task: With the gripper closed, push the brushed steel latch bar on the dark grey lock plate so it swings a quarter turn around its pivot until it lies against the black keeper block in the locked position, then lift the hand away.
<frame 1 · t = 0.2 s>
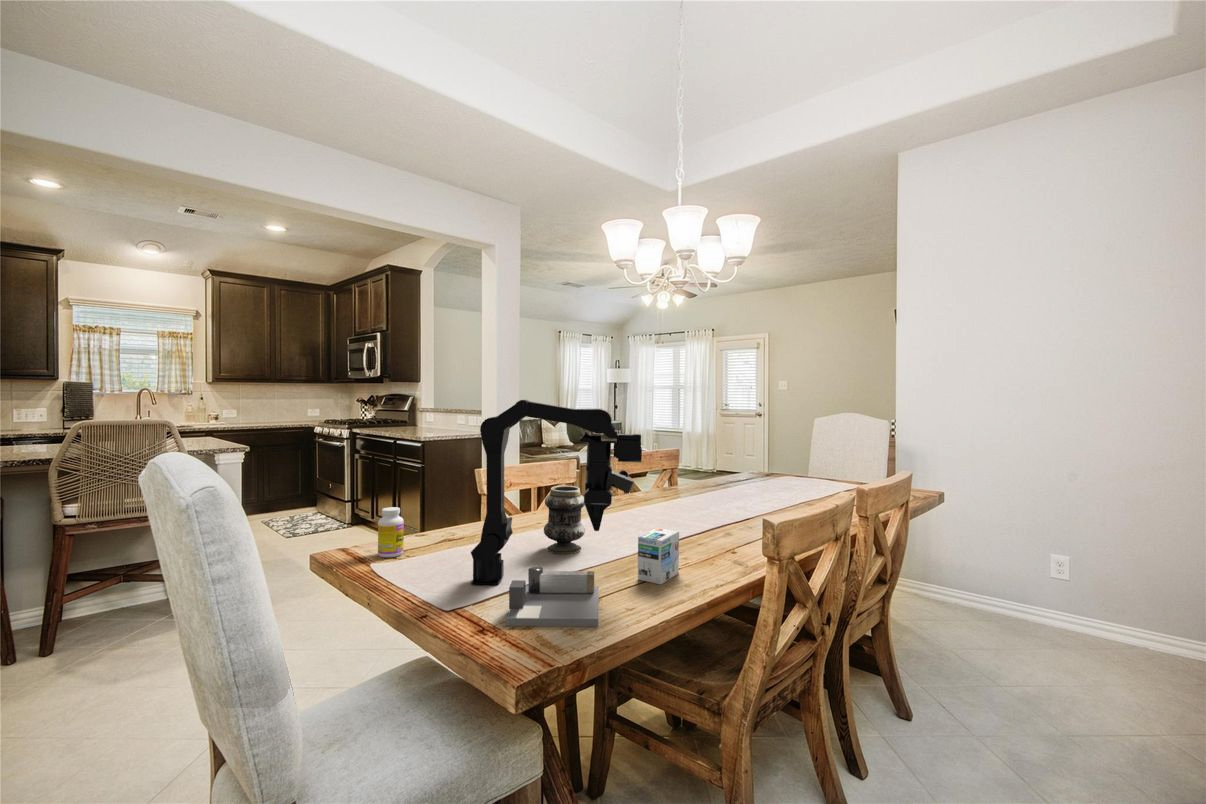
hand: (596, 525, 130), 14 cm above the table, tool pointing down, fingers open, 9 cm apart
latch bar: (561, 579, 120), point 4 cm above the table, hinge at 0.0°
lock plate: (556, 607, 115), on the table
apothecary jar: (564, 550, 157), on the table
supplement bottle: (390, 555, 151), on the table
light bulb box: (658, 577, 136), on the table
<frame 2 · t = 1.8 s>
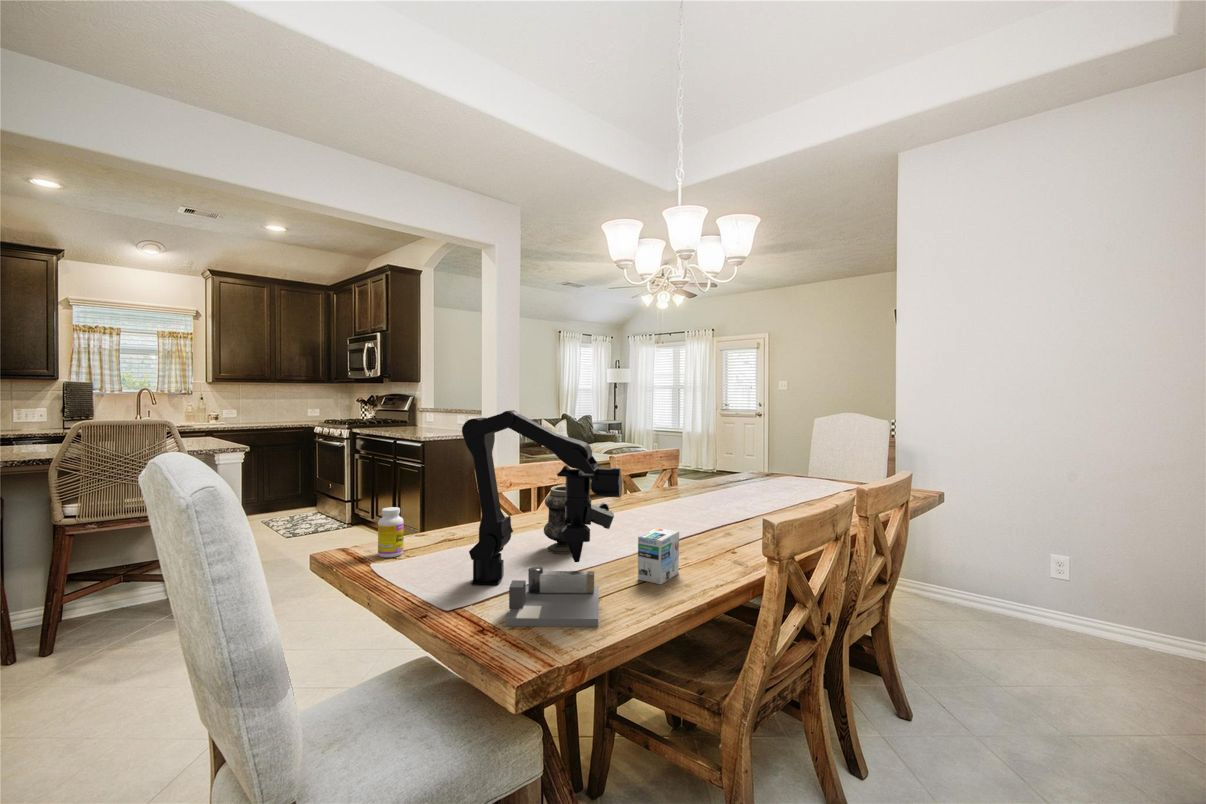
hand: (577, 561, 127), 6 cm above the table, tool pointing down, fingers closed
nothing on the table moved.
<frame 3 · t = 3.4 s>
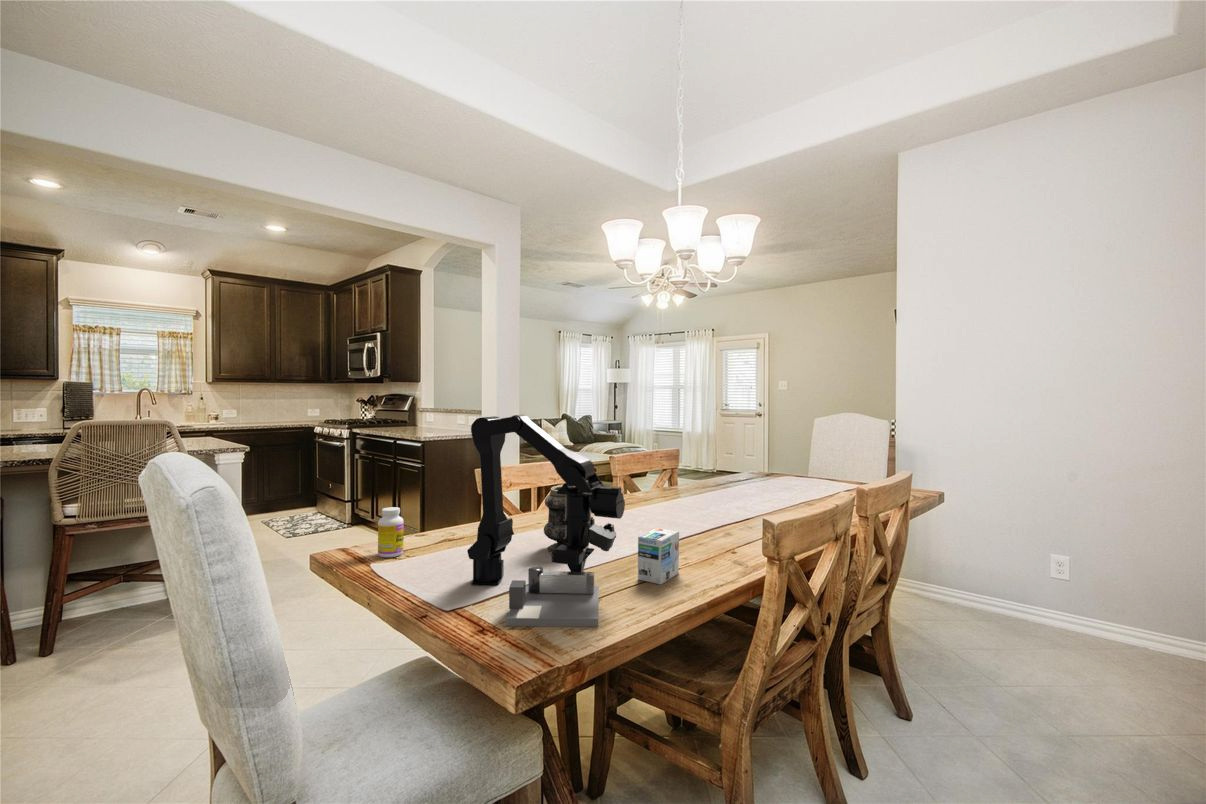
hand: (578, 582, 123), 3 cm above the table, tool pointing down, fingers closed
latch bar: (561, 580, 120), point 4 cm above the table, hinge at -2.3°, touching gripper
everything else where it was.
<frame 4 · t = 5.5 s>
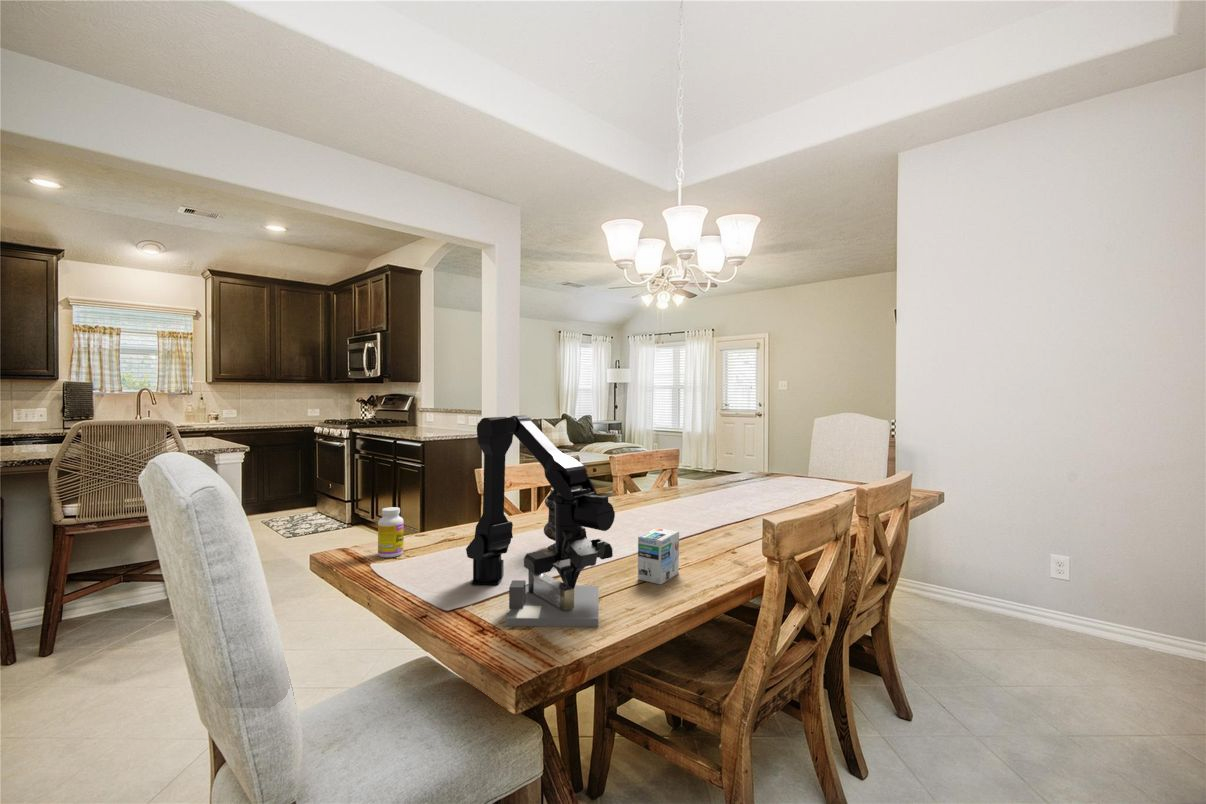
hand: (569, 595, 115), 3 cm above the table, tool pointing down, fingers closed
latch bar: (549, 587, 116), point 4 cm above the table, hinge at -51.8°, touching gripper
everything else where it was.
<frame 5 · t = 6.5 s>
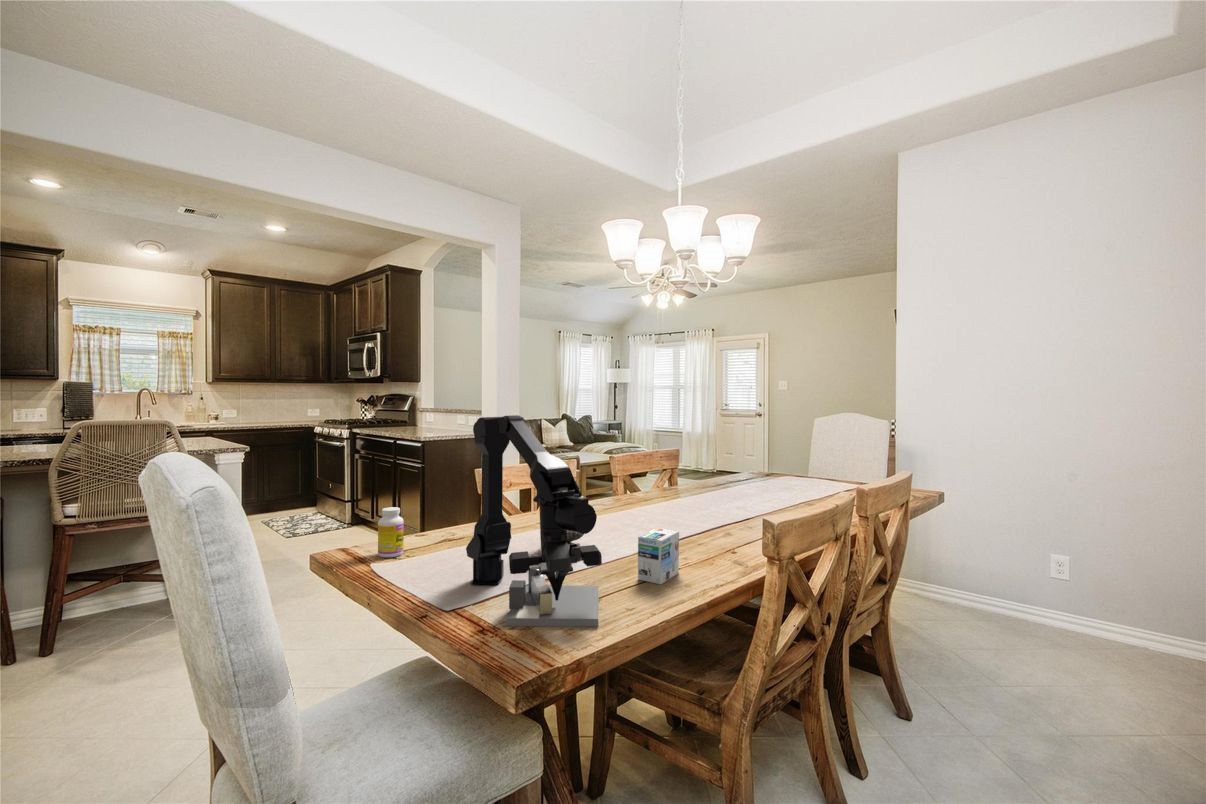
hand: (556, 599, 113), 3 cm above the table, tool pointing down, fingers closed
latch bar: (540, 588, 115), point 4 cm above the table, hinge at -74.1°, touching gripper
everything else where it was.
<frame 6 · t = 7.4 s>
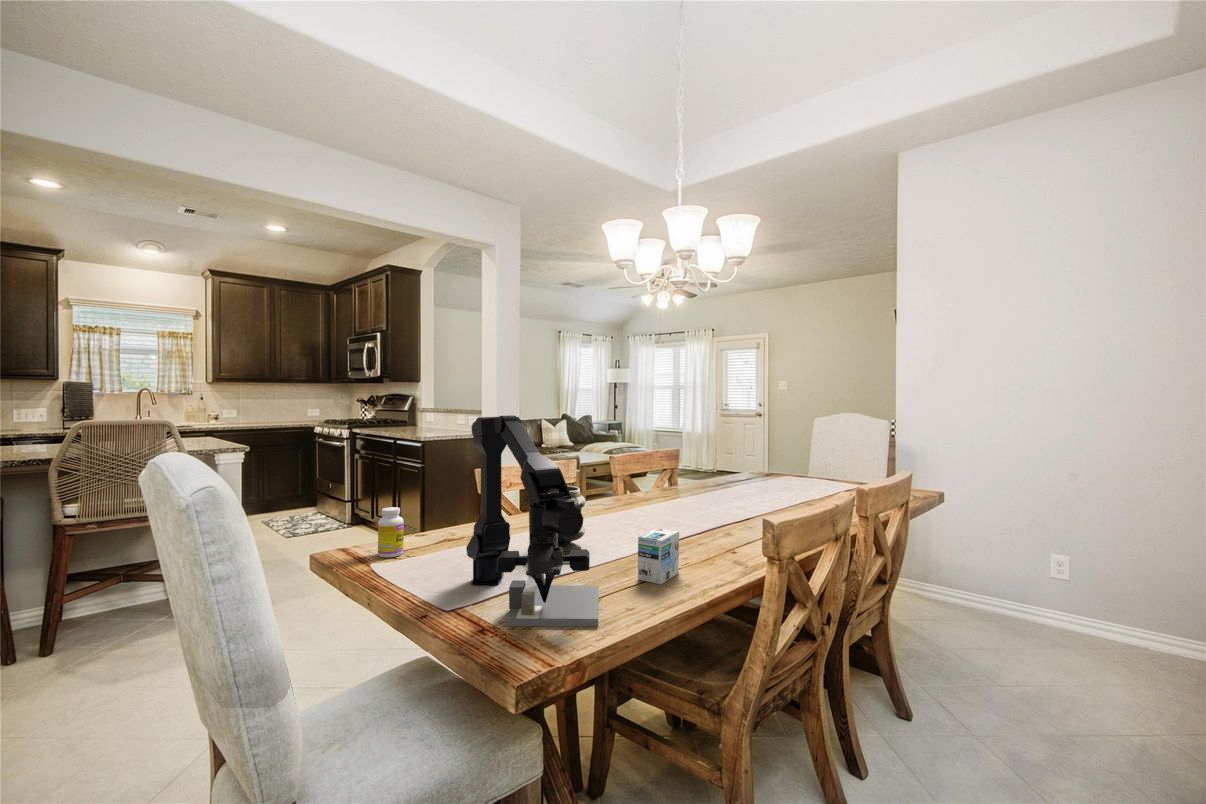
hand: (544, 601, 112), 3 cm above the table, tool pointing down, fingers closed
latch bar: (532, 589, 115), point 4 cm above the table, hinge at -90.3°, touching gripper
everything else where it was.
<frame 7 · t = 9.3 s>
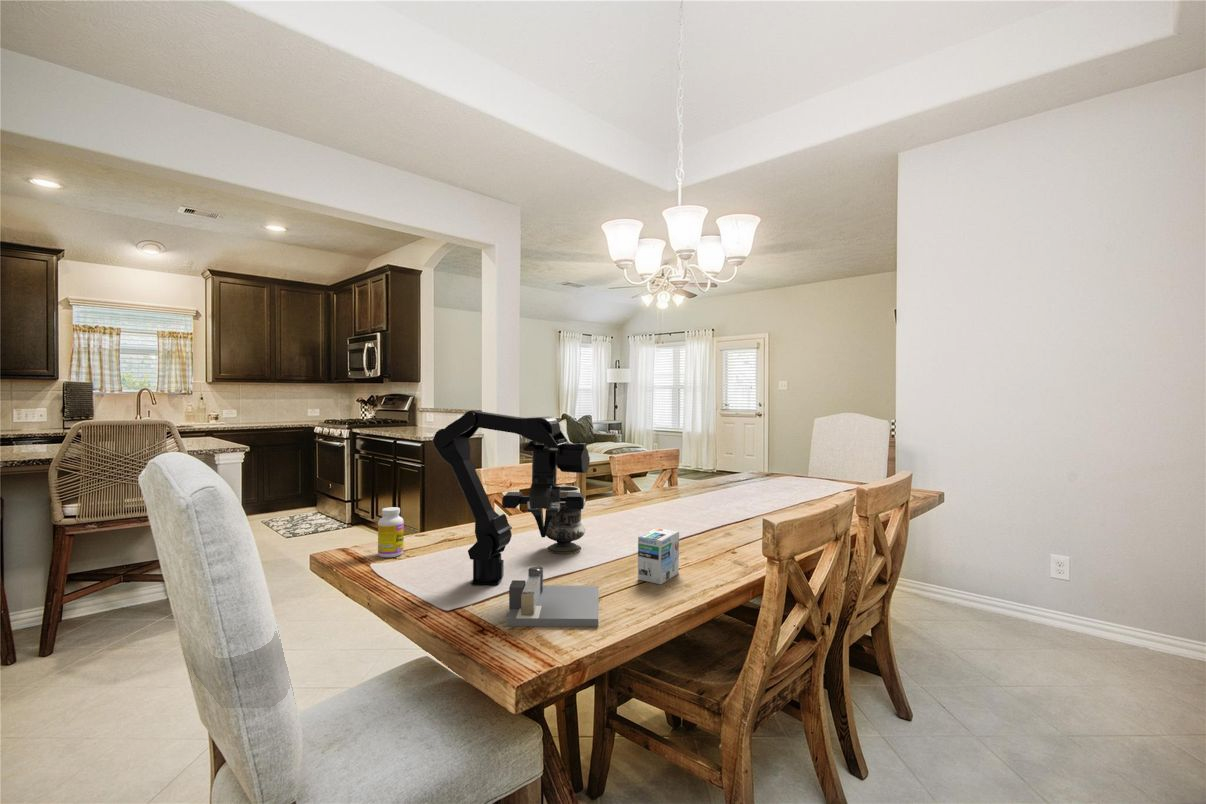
hand: (543, 537, 127), 12 cm above the table, tool pointing down, fingers closed
latch bar: (532, 589, 115), point 4 cm above the table, hinge at -90.6°
everything else where it was.
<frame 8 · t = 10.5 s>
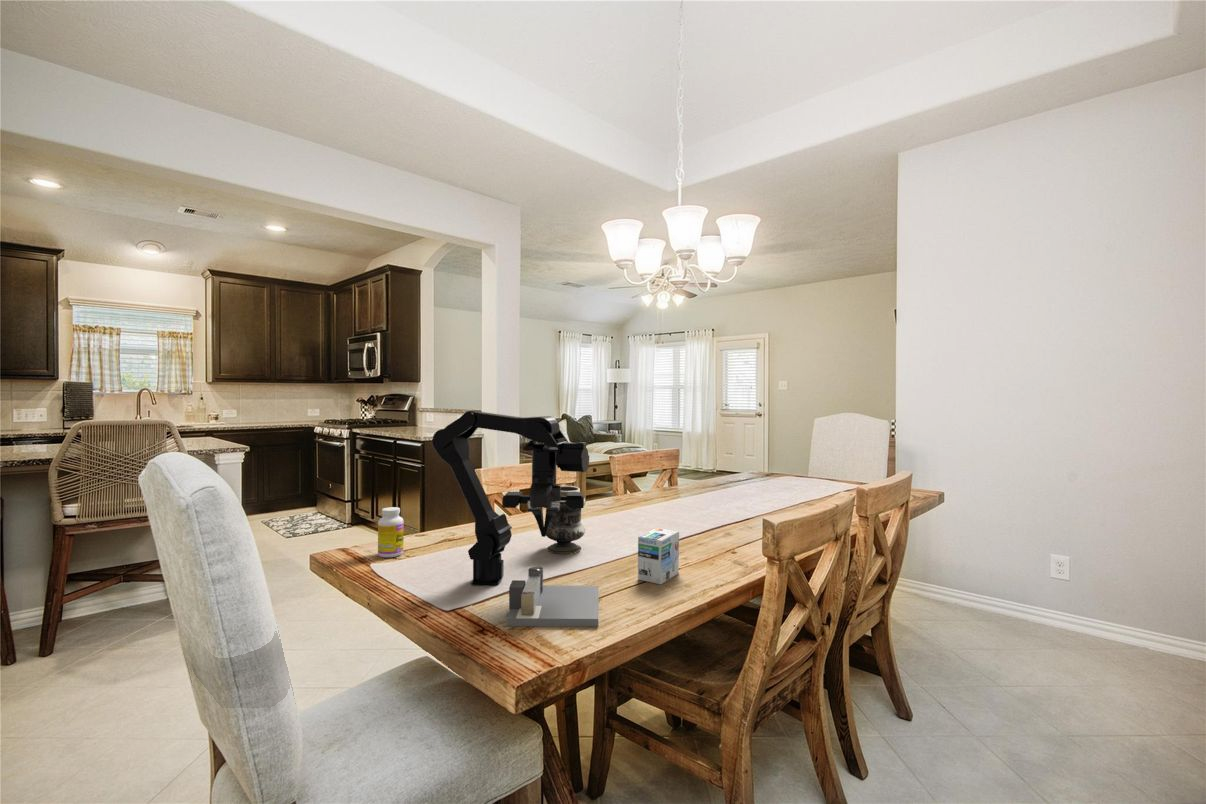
hand: (543, 536, 127), 12 cm above the table, tool pointing down, fingers closed
nothing on the table moved.
at the end: latch bar at -91° (first picture: +0°) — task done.
